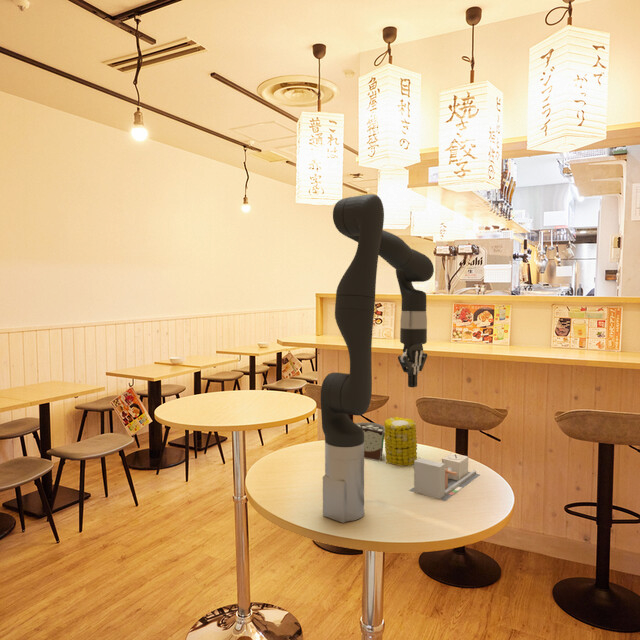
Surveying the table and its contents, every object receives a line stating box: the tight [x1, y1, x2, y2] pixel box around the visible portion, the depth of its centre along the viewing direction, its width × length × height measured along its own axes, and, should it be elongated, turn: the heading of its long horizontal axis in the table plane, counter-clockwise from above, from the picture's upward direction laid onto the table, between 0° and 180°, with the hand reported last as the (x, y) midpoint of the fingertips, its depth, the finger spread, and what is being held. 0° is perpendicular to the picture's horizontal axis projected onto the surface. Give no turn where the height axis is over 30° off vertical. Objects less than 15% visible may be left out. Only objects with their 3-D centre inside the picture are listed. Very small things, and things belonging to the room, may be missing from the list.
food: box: [383, 416, 418, 467], centre depth 147 cm, size 15×12×10 cm
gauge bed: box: [408, 457, 481, 502], centre depth 130 cm, size 22×10×10 cm, turn 140°
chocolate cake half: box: [354, 422, 385, 462], centre depth 157 cm, size 12×6×10 cm, turn 58°
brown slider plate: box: [445, 468, 457, 489], centre depth 126 cm, size 1×7×5 cm, turn 50°
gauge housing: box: [441, 452, 469, 481], centre depth 134 cm, size 9×5×5 cm, turn 140°
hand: (412, 386), depth 141 cm, fingers closed
